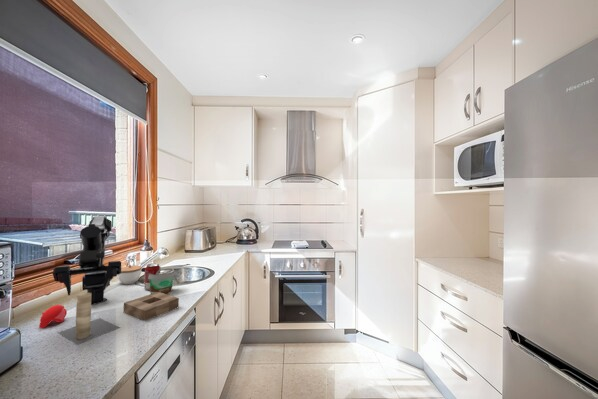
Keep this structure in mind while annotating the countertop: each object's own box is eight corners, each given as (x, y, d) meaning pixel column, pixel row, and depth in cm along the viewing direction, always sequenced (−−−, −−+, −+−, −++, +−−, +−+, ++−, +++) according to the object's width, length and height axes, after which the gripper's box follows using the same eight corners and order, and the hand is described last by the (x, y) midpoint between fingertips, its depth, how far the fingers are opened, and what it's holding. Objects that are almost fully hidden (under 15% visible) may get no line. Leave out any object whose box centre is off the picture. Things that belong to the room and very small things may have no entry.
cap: (56, 308, 93) (39, 306, 88) (71, 304, 93) (54, 301, 88) (49, 332, 89) (31, 330, 84) (64, 327, 89) (47, 325, 84)
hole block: (123, 312, 98) (123, 302, 98) (157, 300, 110) (158, 291, 110) (144, 321, 91) (144, 310, 91) (178, 307, 104) (178, 298, 104)
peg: (73, 337, 79) (74, 295, 79) (87, 332, 82) (88, 291, 83) (78, 340, 78) (79, 297, 78) (92, 335, 81) (93, 293, 81)
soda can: (152, 291, 121) (153, 266, 121) (141, 290, 123) (141, 265, 123) (163, 286, 128) (163, 263, 128) (151, 285, 129) (152, 262, 129)
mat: (57, 333, 82) (57, 332, 82) (99, 318, 93) (100, 317, 93) (77, 346, 76) (77, 344, 76) (120, 328, 86) (120, 327, 86)
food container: (154, 298, 112) (155, 276, 113) (147, 295, 116) (147, 274, 116) (179, 290, 123) (180, 270, 123) (172, 288, 126) (173, 268, 126)
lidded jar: (146, 280, 138) (146, 263, 138) (128, 286, 127) (129, 268, 127) (130, 278, 140) (130, 261, 140) (111, 284, 130) (112, 266, 130)
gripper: (54, 243, 85) (44, 285, 75) (121, 239, 95) (120, 275, 86) (59, 261, 91) (50, 302, 82) (122, 256, 102) (120, 291, 92)
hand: (86, 292), depth 85 cm, fingers open, 9 cm apart
